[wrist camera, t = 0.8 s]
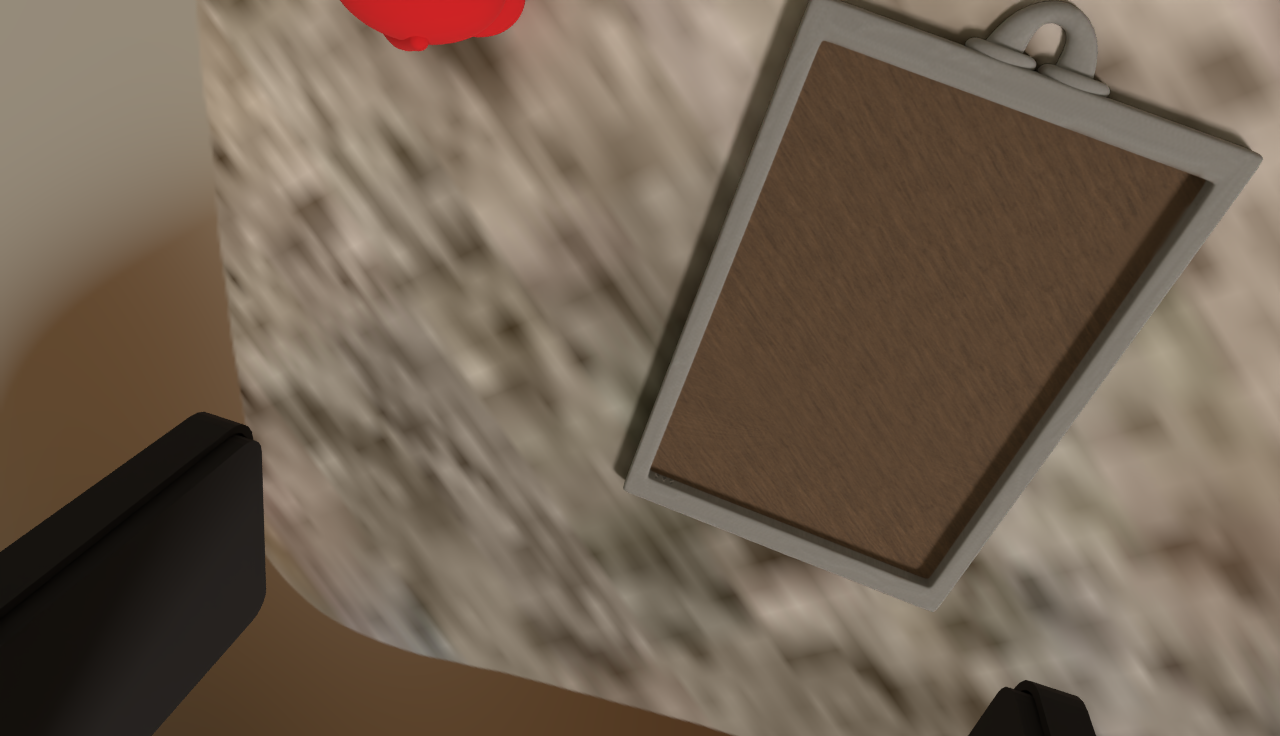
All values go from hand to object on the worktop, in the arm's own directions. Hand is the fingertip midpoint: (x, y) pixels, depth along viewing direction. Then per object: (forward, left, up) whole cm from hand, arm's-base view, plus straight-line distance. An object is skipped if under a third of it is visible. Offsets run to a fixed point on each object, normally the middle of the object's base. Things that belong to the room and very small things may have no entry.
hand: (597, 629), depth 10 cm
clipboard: (-4, +10, -31) cm, 33 cm away
